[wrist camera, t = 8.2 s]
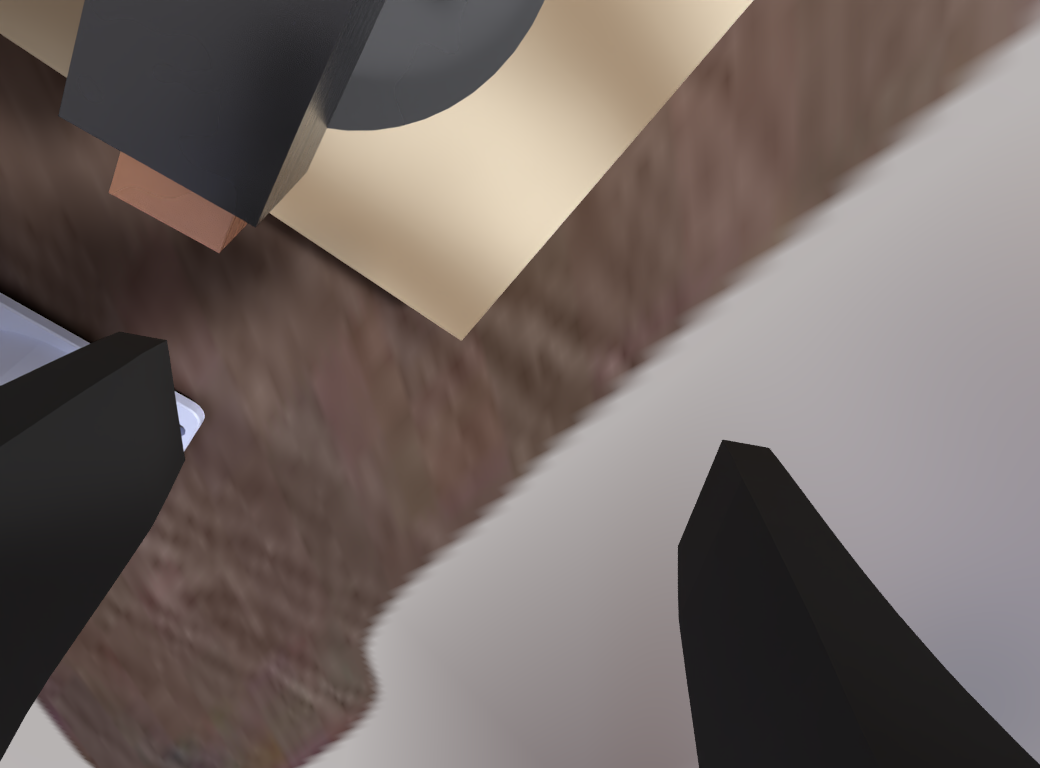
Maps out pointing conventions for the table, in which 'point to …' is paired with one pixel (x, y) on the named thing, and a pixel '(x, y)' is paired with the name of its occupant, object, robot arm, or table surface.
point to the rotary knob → (265, 90)
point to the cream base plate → (474, 147)
